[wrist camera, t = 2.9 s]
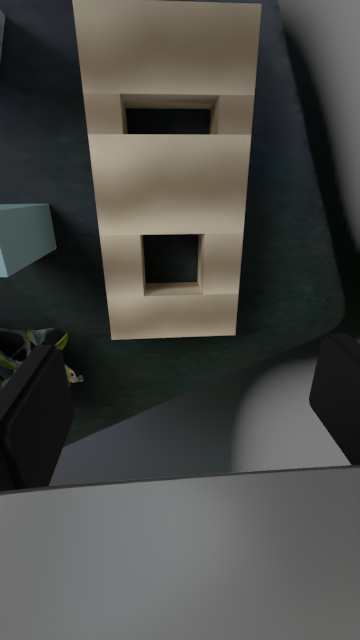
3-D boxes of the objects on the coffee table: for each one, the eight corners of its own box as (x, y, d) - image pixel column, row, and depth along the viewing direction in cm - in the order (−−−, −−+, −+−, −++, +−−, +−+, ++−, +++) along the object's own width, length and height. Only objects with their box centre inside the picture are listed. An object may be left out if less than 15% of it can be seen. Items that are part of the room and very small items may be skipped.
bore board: (86, 29, 22) (72, -3, 18) (244, 33, 22) (261, 3, 19) (117, 322, 32) (111, 339, 28) (226, 318, 32) (235, 335, 29)
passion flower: (15, 329, 37) (-104, 326, 26) (81, 295, 34) (-22, 274, 22) (37, 416, 35) (-82, 455, 24) (109, 390, 32) (11, 419, 20)
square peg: (3, 204, 26) (-80, 212, 17) (48, 203, 26) (-9, 211, 17) (13, 249, 28) (-57, 278, 19) (56, 248, 28) (7, 277, 19)
